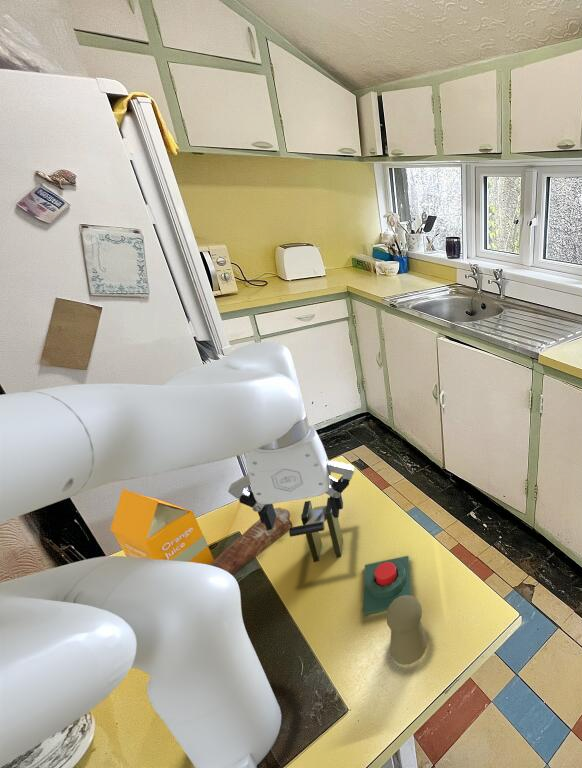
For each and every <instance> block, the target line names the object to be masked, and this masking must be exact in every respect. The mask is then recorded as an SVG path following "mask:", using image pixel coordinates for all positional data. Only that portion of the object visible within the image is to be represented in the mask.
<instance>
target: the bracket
mask: <svg viewBox="0 0 582 768" xmlns="http://www.w3.org/2000/svg"><path fill="white" fill-rule="evenodd" d="M325 506H326V512H325V515H326V523H327V528H328V530H329V535H330V538H331V543H332V547H333V552H334V555H335V558H336V559H337V558H341V557H342V556H343V545H344V538H343V533H342V529H341V524H340V520H339V517H338V518H335V517H333V513H332V509H331V505H330V497H327V501H326V505H325ZM313 508H314V507H313V505H312V501H311V500H306V501H304V503H303V508H302V513H301V515H300V520H301V524H302V525H305V524H306V523H307V522H308V521H309V520H310V519H311V518H312V516H311V510H312V509H313ZM305 537H306V540H307V544H308V547H309V551H310V554H311V558H312V562H313V563H319V562H320V560H321V552H322V546H323V543H322V539H321V534H320V531H319V532H314V533H308V534H305Z"/></svg>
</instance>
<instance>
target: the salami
mask: <svg viewBox="0 0 582 768" xmlns="http://www.w3.org/2000/svg"><path fill="white" fill-rule="evenodd" d="M274 510H275V513H276V519H275V523H274V526H273V529H271V530H267V529H266V526H265V523H261V520H260V518H259V519H258V520H257V521H256V522H254V523H253V524H252V525H251V526H250V527H249V528H248V529H247V530H246V531H245V532H244V533H242V534H241V535H240V536H239V537H237V538H236V539H235V540H234V541H233V542H232V543H231V544H230V545H229V546H228V547H227V548H226V549H225V550H224V551H222V552H221V553H220V554H219V555H218V556H217V557H216V558H215V559H214V561H213V562H212V563H211V564H210V565H211V566H215V567H218V568H221V569H223V570H225V571H227V572H228V573H230V574H231V575H232V576H233V577H234V575H235V574H236V573H238V572H239V571H240V570H242V568H244V567H245V566H246V565H248V564H249V563H250V562H251V561H252V560H254V559H255V558H256V557H257V556H258V555H259V554H261V553H262V552H263V551H265V550H266V549H267V548H268V547H270V546H271V545H272V544H273V543H274V542H276V541H277V540H278V539H280V538H281V537H282V536H284V534H286V533H287V532H289V529H290V528H291V527H293V523H292V520H290V517H291V513H290V511H289V510H288V509H286V508H281V507H276V508H275V507H274Z"/></svg>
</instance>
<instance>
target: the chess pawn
mask: <svg viewBox="0 0 582 768" xmlns="http://www.w3.org/2000/svg"><path fill="white" fill-rule="evenodd" d="M422 616H423V608H422V605H421V602H420V601H419V599H418V598H417V597H415V596H413V595H412V596H409V595H403V596H400V597H398V598H396V599H395V600H394V601H393V602H392V603H391V604H390V605H389V607H388V609H387V611H386V615H385V620H386V625H387V626H388V628H389V629H390V656H391V657H392V659H393V661H394V662H396V663H397V664H399V665H403V666H405V665H406V666H407V665H411V664H414V663H416V662H417V661H419V660H420V659H421V658H422V657H423V656H424V654H425V653H426V650H427V647H428V639H427V638H428V637H427V635H426V632H425V630H424V627H423V624H422V621H421V620H422Z"/></svg>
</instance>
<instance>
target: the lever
mask: <svg viewBox="0 0 582 768" xmlns="http://www.w3.org/2000/svg"><path fill="white" fill-rule="evenodd" d="M326 506H327V505H320V506H315V507H314V506H313V507H312V508H313V509H312V510H311V516H312V518H311V519H310V520H309V521H308V522H307V523H306V524H305V525H303V524H302V525H301V524H300V525H297V526H292V527H291V528H290V529H289V530H288V534H289V537H290V538H293V537H298V536H302V535H306V534H308V533H314V532H319V533H320V532H323V531H325V530H326V529H325V527H326V526H325V522H327V519H326V515H325V512H326Z"/></svg>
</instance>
